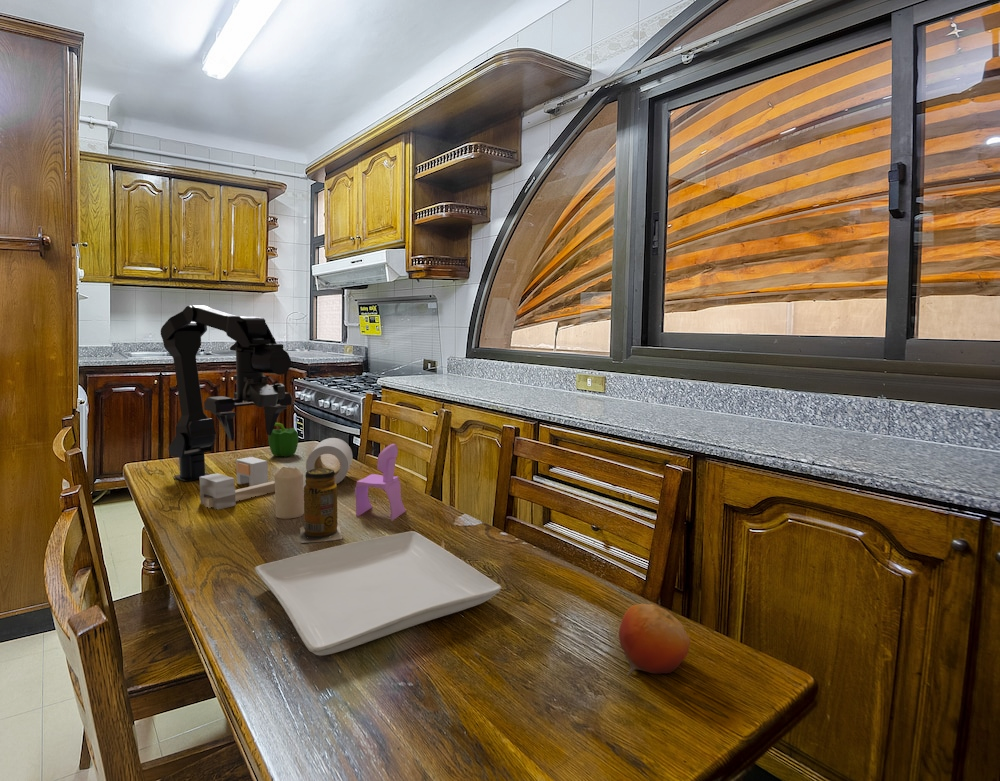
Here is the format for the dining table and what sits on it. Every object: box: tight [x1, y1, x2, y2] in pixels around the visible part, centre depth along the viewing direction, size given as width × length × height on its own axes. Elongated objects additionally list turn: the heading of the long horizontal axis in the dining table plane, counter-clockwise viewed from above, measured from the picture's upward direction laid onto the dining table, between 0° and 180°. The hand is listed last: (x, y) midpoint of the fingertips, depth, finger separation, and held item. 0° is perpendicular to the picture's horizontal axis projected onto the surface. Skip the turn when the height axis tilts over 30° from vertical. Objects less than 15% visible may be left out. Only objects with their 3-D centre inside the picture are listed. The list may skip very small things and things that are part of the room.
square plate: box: [254, 530, 502, 656], centre depth 84 cm, size 27×27×4 cm
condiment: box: [299, 467, 343, 544], centre depth 108 cm, size 7×8×12 cm
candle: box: [274, 466, 304, 520], centre depth 118 cm, size 6×6×10 cm
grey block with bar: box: [198, 472, 275, 511], centre depth 130 cm, size 7×18×6 cm, turn 145°
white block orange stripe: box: [235, 456, 269, 487], centre depth 140 cm, size 7×4×6 cm, turn 55°
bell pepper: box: [267, 422, 299, 457], centre depth 171 cm, size 8×8×10 cm
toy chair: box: [354, 443, 406, 521], centre depth 120 cm, size 8×9×15 cm
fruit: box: [618, 603, 691, 676], centre depth 67 cm, size 8×8×8 cm
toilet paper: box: [305, 437, 353, 485], centre depth 145 cm, size 10×10×10 cm
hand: (250, 437), depth 134 cm, fingers open, 9 cm apart
